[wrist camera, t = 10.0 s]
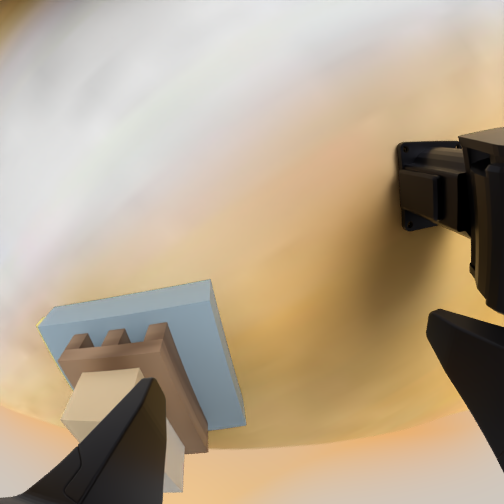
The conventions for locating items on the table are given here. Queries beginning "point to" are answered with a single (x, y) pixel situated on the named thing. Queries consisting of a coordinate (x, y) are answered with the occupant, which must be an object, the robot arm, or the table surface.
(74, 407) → the tan carton
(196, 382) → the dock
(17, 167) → the table surface
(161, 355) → the pallet
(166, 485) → the off-white carton
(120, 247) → the table surface
